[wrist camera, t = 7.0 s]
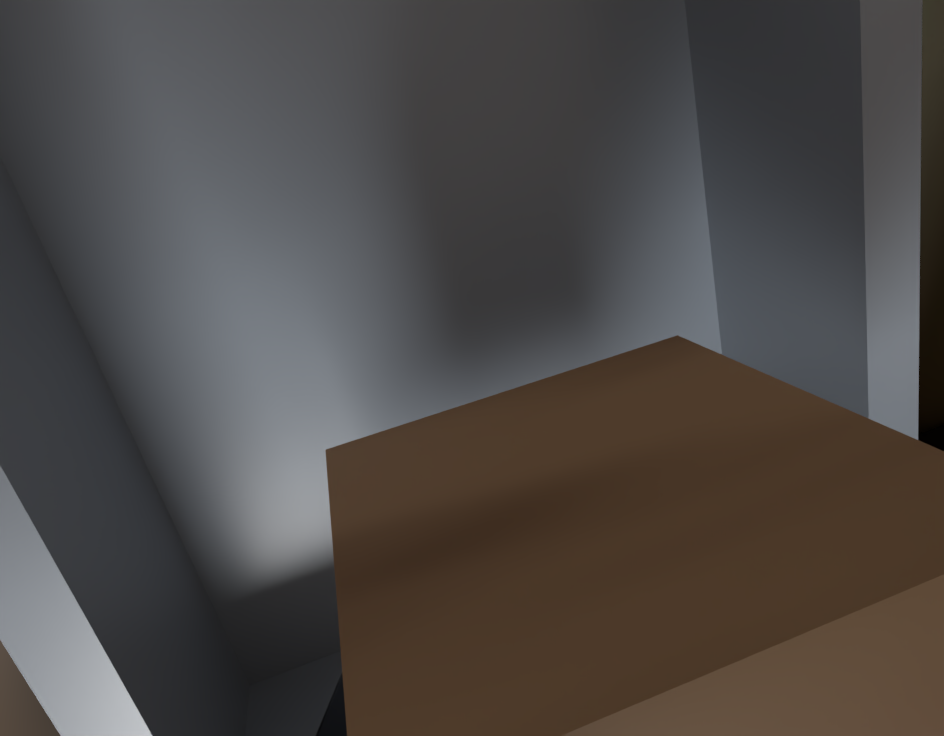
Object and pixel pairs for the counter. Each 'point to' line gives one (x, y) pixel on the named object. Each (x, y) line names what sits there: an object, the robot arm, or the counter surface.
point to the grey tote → (389, 282)
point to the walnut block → (641, 561)
